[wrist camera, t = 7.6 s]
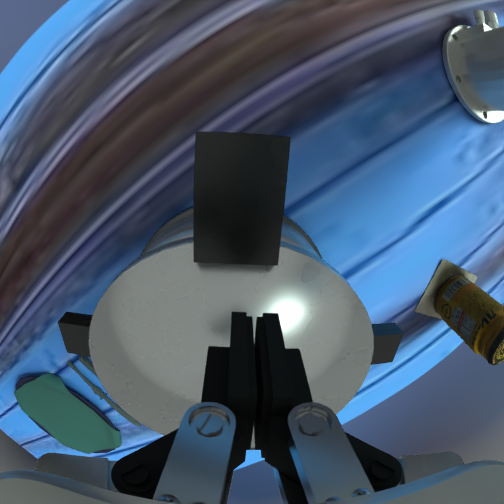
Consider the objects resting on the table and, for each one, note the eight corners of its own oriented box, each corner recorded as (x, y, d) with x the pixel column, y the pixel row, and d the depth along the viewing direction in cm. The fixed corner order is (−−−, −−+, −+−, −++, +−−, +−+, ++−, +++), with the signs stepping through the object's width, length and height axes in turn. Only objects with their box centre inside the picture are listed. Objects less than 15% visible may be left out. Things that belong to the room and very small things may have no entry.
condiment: (451, 322, 33) (500, 373, 21) (413, 310, 31) (468, 371, 20) (476, 275, 30) (534, 319, 19) (441, 257, 29) (509, 306, 18)
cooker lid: (65, 139, 12) (31, 144, 9) (414, 158, 14) (449, 166, 11) (128, 431, 22) (121, 458, 19) (329, 435, 23) (336, 462, 20)
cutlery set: (5, 384, 33) (0, 392, 31) (93, 326, 30) (86, 337, 28) (80, 450, 40) (78, 458, 38) (193, 421, 37) (192, 433, 35)
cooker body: (93, 197, 24) (32, 225, 15) (376, 209, 26) (436, 243, 17) (119, 367, 31) (95, 428, 22) (336, 374, 34) (361, 434, 24)
